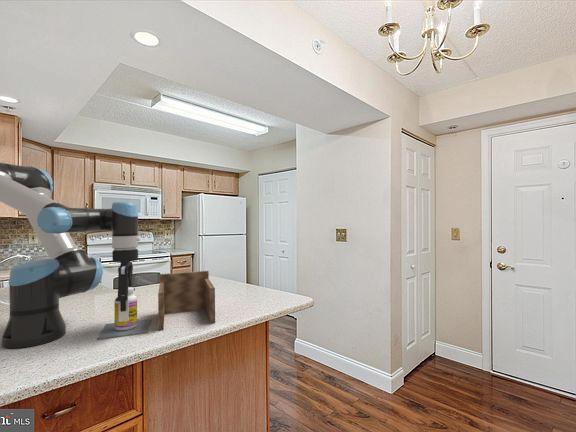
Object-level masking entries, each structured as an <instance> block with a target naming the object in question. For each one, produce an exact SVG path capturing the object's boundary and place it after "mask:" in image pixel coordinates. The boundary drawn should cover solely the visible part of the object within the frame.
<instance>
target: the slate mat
mask: <svg viewBox="0 0 576 432" xmlns="http://www.w3.org/2000/svg"><path fill="white" fill-rule="evenodd" d="M151 319H152V318H145V319H144V318H143V319H137V326H136V327H135V328H132V329H129V330H123V331H120V330H116V329H115V326H114V322H110V323H105V325H104V326H103V328H102V329H101V332H100V333H99V334H98V336H97V338H96V340H97V341H98V340H99V341H100V340H101V341H102V340H107V339H114V338H122V337H123V338H124V337H129V336H136V335H144V334H149V330H150V326H151Z"/></svg>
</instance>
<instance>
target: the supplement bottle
mask: <svg viewBox="0 0 576 432" xmlns="http://www.w3.org/2000/svg"><path fill="white" fill-rule="evenodd" d="M134 288H135V287H134V286H133V287H128V300H129V321H123V322H119V301H116V299H117V298H118V296H117V297H115V299H114V302H113V303H114V313H113V314H114V319H113V320H114V322H113V323H114V326H115V329H116V330H120V331H123V330H129V329H132V328H135V327H136V326H137V320H138V297H137V296H136V295H135V294H134V292H135V291H134ZM122 296H125V295H122Z"/></svg>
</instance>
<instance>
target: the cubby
mask: <svg viewBox="0 0 576 432" xmlns="http://www.w3.org/2000/svg"><path fill="white" fill-rule="evenodd" d="M209 275H210V273H209V270H201V271H188V272H187V271H186V272H173V273H172V272H171V273H160V274H159V286H158V287H159V288H158V293H157V299H158V300H157V305H158V306H157V308H158V312H157V313H158V318H157V319H158V320H157V321H158V331H164V329H165V315H168V314H169V315H170V314H176V313H177V314H178V313H185V312H194V311H202V310H203V311H204V310H205V313H206V315H207V317H208V320H209V322H210V324H211V325H212V324H216V288H215V285H213V283H212V282H211V280H210V279H209V278H210V276H209Z"/></svg>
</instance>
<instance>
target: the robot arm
mask: <svg viewBox="0 0 576 432" xmlns="http://www.w3.org/2000/svg"><path fill="white" fill-rule="evenodd" d="M53 184H54V181H53V179H52V177H51V175H50V173H48V172H47V171H46V170H44V169H41V168H38V167H34V166H24V165H18V164H11V163H4V162H0V202H1V203H3V204H5V205H7V206H8V207H10V208H13V209H14V210H16V211H18V212H20V213H22V214H23V215H25V216H26V218H27V220H28V222H29V223H30V225H31V227H32V229H33V231H34V233H35V234H36V236H37V239H38V240H39V242H40V243H41V246H42V247H43V249H44V250H45V252H46V254H47V257H48V258H46V259H39V260H31V261H27V262H23V263H20V264H18V265H15V266H13V267H12V268H11V270H10V272H9V280H8V285H9V318H8V321H7V323H6V326H5V327H4V330H3V331H4V332H3V334H2V336H1V347H3V348H6V349H21V348H22V349H24V348H28V347H29V348H30V347H35V346H39V345H43V344H46V343H49V342H53V341H56V340H57V339H60V338H62V337H63V336H65V335H66V333H67V332H66V331H67V326H66V323H65V320H64V318H63V316H62V313H61V311H60V299H61V298H65V297H69V296H73V295H77V294H81V293H86V292H89V291H91V290H93V289H95V288H97V287H98V286H99V284H100V283H101V282H102V280H103V279H102V278H103V274H104V270H103V269H104V268H103V265H102V262H101V261H100V260H99V259H98V258H95V257H92V256H90V257H89V256H88V254H87V252H86V250H85V249H84V248H83V249H82V248H79V247H78V246H77V245H76V242H74V240H73V238H72V236H71V235H70V234H71V233H84V232H85V233H86V232H87V233H88V232H108V231H109V232H111V233H112V236H111V248H112V249H113V250H112V255H111V257H112V261H113V262H114V263H120V264H119V267H118V268H117V273H118V277H117V278H118V279H117V297H118V298H117V299H116V298H115V299H116V301H119V322H123V321H129V300H128V287H133V288H134V292H135V290H136V288H135V287H134V283H133V279H134V278H133V270H134V266H133V262H135V261H138V259H139V249H138V247H139V242H140V241H141V238H140V237H139V229H138V228H139V227H138V226H139V225H138V222H139V209H138V204H137V203H136V202H133V201H132V202H131V201H115V202H112V203H111V207H110V208H89V207H87V208H83V207H82V208H81V207H69V206H66V205H64V204H62V203H59V202H58V201H56V200H54V199H52V198H51V196H52V192H53V190H54V186H53ZM122 295H125V296H122Z"/></svg>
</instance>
